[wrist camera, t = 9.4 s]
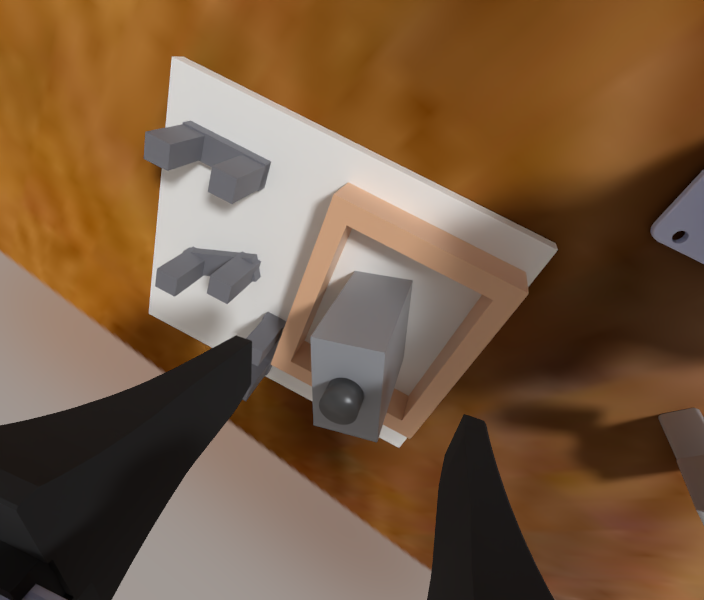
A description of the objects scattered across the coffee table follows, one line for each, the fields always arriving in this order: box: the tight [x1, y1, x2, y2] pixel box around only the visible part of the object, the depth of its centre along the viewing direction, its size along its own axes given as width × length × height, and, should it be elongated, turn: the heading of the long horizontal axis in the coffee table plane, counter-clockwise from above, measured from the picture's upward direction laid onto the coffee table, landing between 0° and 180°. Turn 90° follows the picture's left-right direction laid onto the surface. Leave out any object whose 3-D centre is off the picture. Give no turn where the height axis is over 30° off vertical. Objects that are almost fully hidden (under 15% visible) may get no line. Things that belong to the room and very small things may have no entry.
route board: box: [144, 57, 558, 448], centre depth 21 cm, size 19×16×4 cm
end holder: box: [271, 182, 529, 439], centre depth 20 cm, size 9×11×2 cm
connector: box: [310, 271, 413, 442], centre depth 19 cm, size 3×5×7 cm, turn 178°
